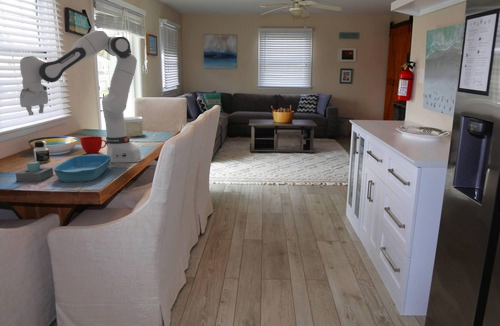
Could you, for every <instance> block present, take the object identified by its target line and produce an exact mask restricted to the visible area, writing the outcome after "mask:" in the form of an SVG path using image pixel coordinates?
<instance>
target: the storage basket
mask: <svg viewBox="0 0 500 326" xmlns="http://www.w3.org/2000/svg"><path fill="white" fill-rule="evenodd" d="M123 117H124V121H125V127H126V136H128V137H130V138H131V137H132V138H133V137H142V136H143V134H144V133H143V131H144V130H143V128H144V127H143V126H144V125H143V122H144V119H143V117H142V116H123Z"/></svg>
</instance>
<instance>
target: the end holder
mask: <svg viewBox="0 0 500 326" xmlns="http://www.w3.org/2000/svg"><path fill="white" fill-rule="evenodd" d="M53 168H54V167H41V166H40V169H41V171H39V172H28V167H27V168H25V169H23V170H20V171H18V172H16V173H15V178H16V182H42V181H45V180H47V179H48V178H50V177H53V176H54V169H53Z"/></svg>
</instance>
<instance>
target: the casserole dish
mask: <svg viewBox="0 0 500 326" xmlns="http://www.w3.org/2000/svg"><path fill="white" fill-rule="evenodd" d="M110 160H111V156H109V155H107V154H101V153H100V154H98V153H97V154H83V155H76V156H72V157H70V158H68V159H66V160H65V161H63V162H61V163H59V164H57V165H55V166H54V167H52V168H53V172H54V173H55V176H57V179H59V181H61V182H69V183H70V182H71V183H72V182H73V183H74V182H91V181H94V180H95V179H97V178H99V177H100V176H101V175H102V174H103V173H104V172H106V171H107V169H109V167H110V164H111V162H110Z"/></svg>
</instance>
